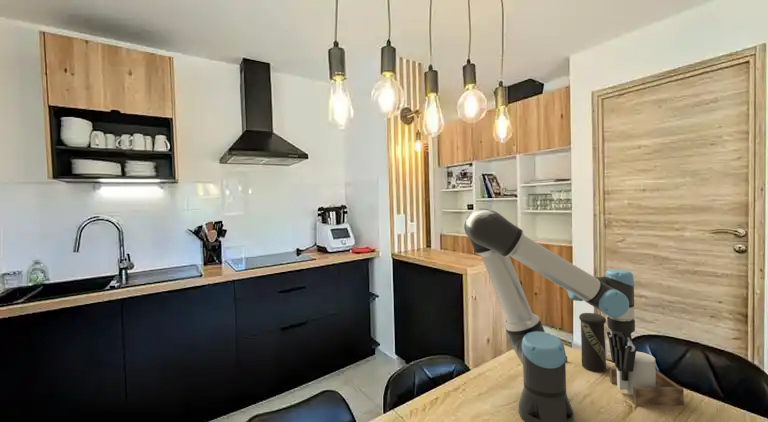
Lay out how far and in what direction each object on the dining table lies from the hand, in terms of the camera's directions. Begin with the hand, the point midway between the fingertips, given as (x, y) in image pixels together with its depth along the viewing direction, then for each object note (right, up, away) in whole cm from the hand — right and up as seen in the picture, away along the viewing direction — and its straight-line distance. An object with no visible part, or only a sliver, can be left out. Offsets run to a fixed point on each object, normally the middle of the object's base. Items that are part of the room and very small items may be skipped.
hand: (622, 388), depth 116 cm
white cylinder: (+6, -1, 0) cm, 6 cm away
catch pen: (+7, -1, 0) cm, 7 cm away
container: (+1, -1, +18) cm, 18 cm away
